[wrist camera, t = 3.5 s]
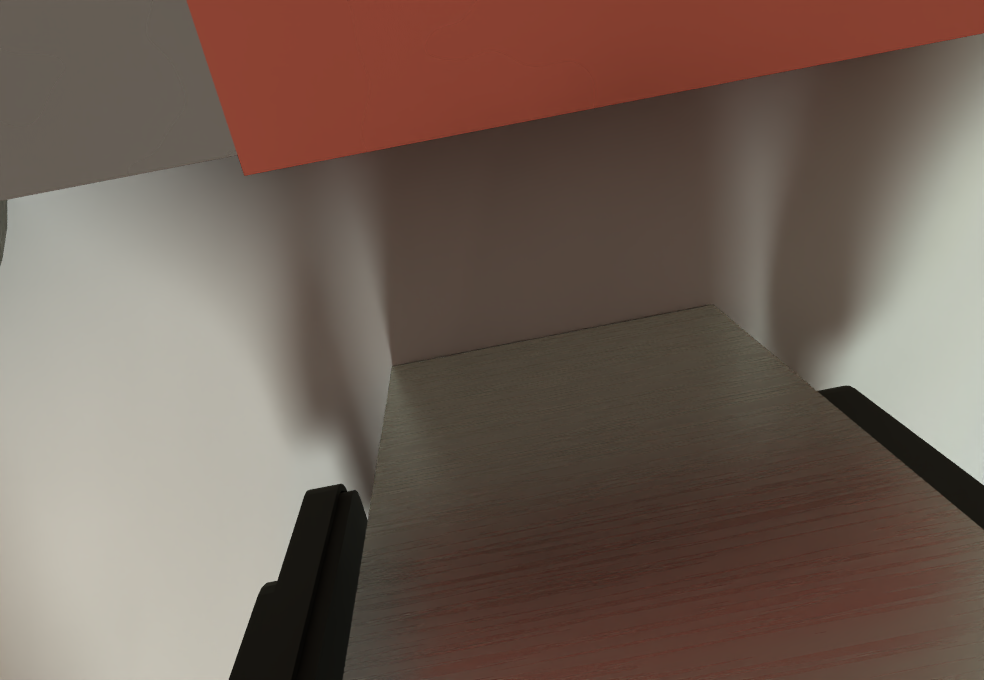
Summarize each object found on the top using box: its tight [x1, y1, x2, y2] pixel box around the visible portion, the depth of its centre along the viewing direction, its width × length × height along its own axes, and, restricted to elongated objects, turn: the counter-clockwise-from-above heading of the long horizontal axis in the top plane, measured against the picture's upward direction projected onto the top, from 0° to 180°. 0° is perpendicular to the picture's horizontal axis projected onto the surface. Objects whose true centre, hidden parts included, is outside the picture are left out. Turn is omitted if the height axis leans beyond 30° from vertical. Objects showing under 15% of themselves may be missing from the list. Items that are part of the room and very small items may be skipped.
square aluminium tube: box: [343, 305, 984, 680], centre depth 8 cm, size 5×5×7 cm
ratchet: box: [0, 0, 984, 265], centre depth 5 cm, size 21×8×6 cm, turn 100°
